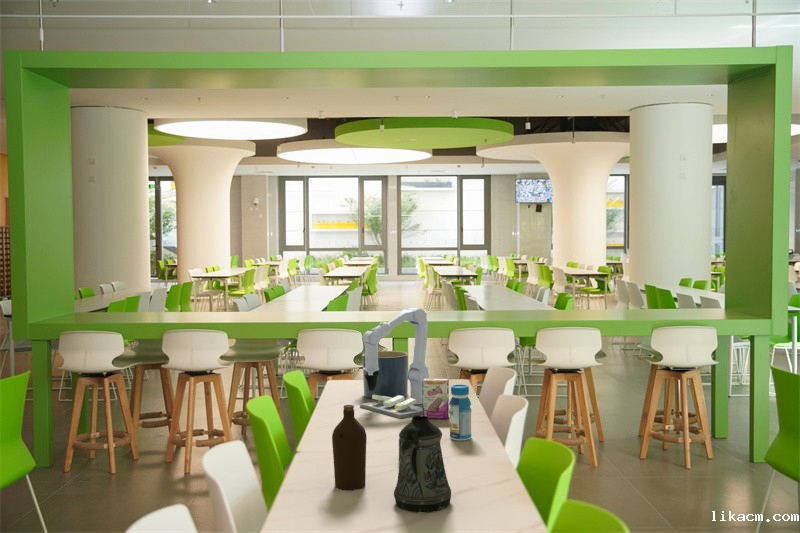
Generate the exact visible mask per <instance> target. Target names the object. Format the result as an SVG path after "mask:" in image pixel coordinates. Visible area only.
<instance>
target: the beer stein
mask: <svg viewBox="0 0 800 533" xmlns="http://www.w3.org/2000/svg"><path fill="white" fill-rule="evenodd" d="M399 437H400V440H401V442H402V446H401V448H400V451H399V450H398V462H399V464H398V473H397V474H398V475H397V482H396V485H395V488H394V491H393V498H394V499H395V505H396V507H397V508H399V509H400V510H402V511H407V512H411V513H418V512H425V513H434V512H433V511H435V512H440V511H442V510H445V509H446V508H448V507H449V506H450V504H451V498H452V489H451V486H450V485H449V481H448V478H447V474H446V469H445V464H444V463H445V462H444V458H443V453H442V446H441V440H442V439H443V438H442V437H443V432H442V430H441V429H440V428H439V427H438V426H436V425H435V424H434V423H433V422H432V421H430V419H428V418H427V417H426V416H423V415H417V416H412V417H411V420H410V421H409V423H407V424H406V425H405V426H404V427H403V428H401V430H400V431H399V433H398V438H399Z"/></svg>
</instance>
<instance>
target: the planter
mask: <svg viewBox="0 0 800 533" xmlns="http://www.w3.org/2000/svg"><path fill="white" fill-rule="evenodd" d="M361 355H362V356H361V357H362V382H363V396H364V397H365V398H367V399H370V400H373V399H372V395H379V396H386V397H391V398H394V397H396V396H398V395H400V396H404V398H405V397H407V396H408V394H409V393H408V392H409V390H408V389H409V384H408V383H409V382H408V381H409V379H408V377H407V373H408V371H409V354H408V352H406V351H397V350H380V351H379V350H378V368H379V374H378V377H377V382H376V387H375V388H374V390H369V388H368V383H367V380H366V378H365V374H367V371H366V370H363V368H366V364H365V352H364V353H363V354H361Z"/></svg>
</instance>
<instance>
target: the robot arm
mask: <svg viewBox="0 0 800 533" xmlns="http://www.w3.org/2000/svg"><path fill="white" fill-rule="evenodd" d="M427 315H428V314H427V312H426V311H425V310H424V308H414V307H409V306H408V307H405V309H402V310H401V312H399V313H398V314H397V315H396V316H394V317H393V318H392V319H390V320H389V321H388V322H386V321H383V322H382V321H380V322H379V325H377V326H376V327H373V328H371V330H368V331H365V332H364V333H363V336H362V337H361V339H362V342H363V344H364V353H365V364H366V368H363V367H362V371H363V370H366V371H367V374H365V378H366V380H367V383H368V388H369V390H374V388H375V387H376V382H377V377H378V374H379V368H378V351H379V343H380V342H381V340H382V339H384V338H385V337H386V336H388V335H389V334H391V333H392V329H394V328H396V327H398V326H400V325H401V324H402V323H404V322H409V323H410V324H411V325H412V326H413V327H414V328H415V335H414V336H415V338H414V348H413V357H412V358H413V360H412V362H411V364H409V367H408V373H407V377H408V381H409V383H410V385H409V386H410V398H412V399H416V401H417V403H416V404H415V406H417V405H418V406H419V405H423V384H422V382H423V379H430V374H429V367H428V365H427V364H426V356H427V355H426V354H427V344H428V343H427V342H428V332H429V323H428V319H427V317H428V316H427Z"/></svg>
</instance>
